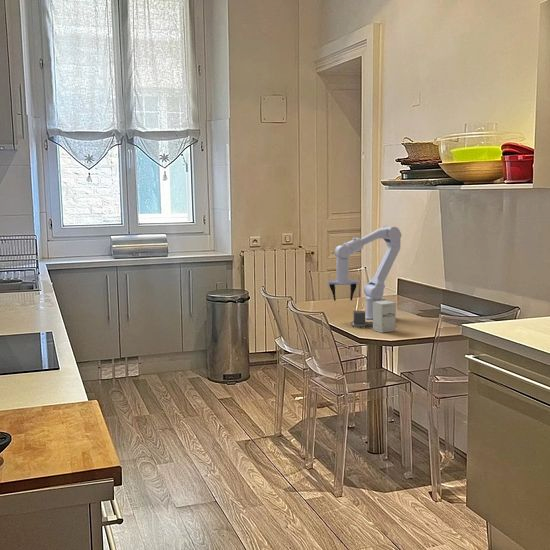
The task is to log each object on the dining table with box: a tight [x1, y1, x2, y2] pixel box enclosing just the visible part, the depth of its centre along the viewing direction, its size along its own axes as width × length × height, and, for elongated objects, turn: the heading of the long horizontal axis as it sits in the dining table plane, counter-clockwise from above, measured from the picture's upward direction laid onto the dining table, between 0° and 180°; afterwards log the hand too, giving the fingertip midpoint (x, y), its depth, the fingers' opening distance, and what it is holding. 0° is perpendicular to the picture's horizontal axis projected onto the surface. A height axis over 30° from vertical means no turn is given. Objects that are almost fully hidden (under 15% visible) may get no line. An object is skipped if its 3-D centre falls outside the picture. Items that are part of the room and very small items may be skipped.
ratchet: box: [350, 321, 373, 328], centre depth 315 cm, size 19×8×4 cm, turn 87°
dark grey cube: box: [352, 310, 366, 324], centre depth 315 cm, size 5×5×5 cm
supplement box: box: [372, 299, 397, 333], centre depth 304 cm, size 7×7×13 cm
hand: (342, 300), depth 328 cm, fingers open, 7 cm apart
